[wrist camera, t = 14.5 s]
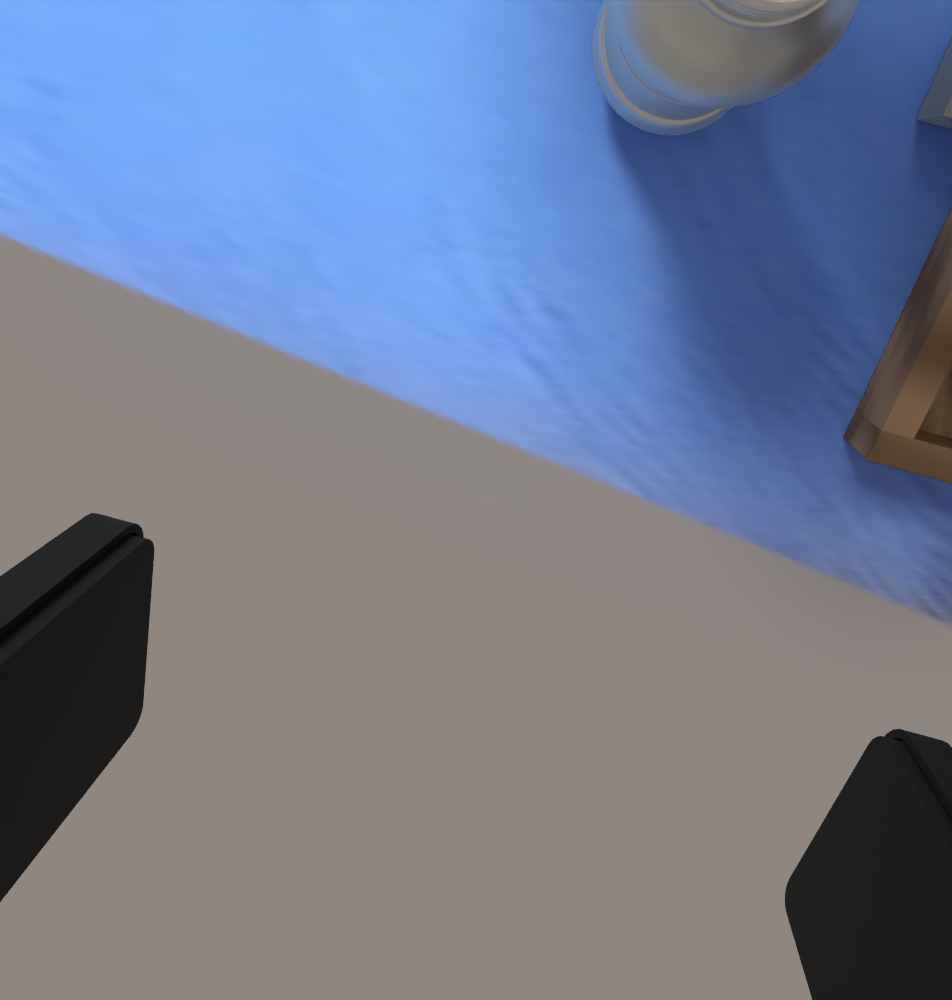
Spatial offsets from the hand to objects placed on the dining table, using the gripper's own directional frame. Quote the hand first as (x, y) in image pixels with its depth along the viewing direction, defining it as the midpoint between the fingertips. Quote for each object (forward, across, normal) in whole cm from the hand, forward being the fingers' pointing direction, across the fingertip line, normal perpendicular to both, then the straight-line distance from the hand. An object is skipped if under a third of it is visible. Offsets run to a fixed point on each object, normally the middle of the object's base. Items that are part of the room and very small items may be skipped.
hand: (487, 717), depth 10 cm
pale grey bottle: (+31, -2, -12) cm, 33 cm away
